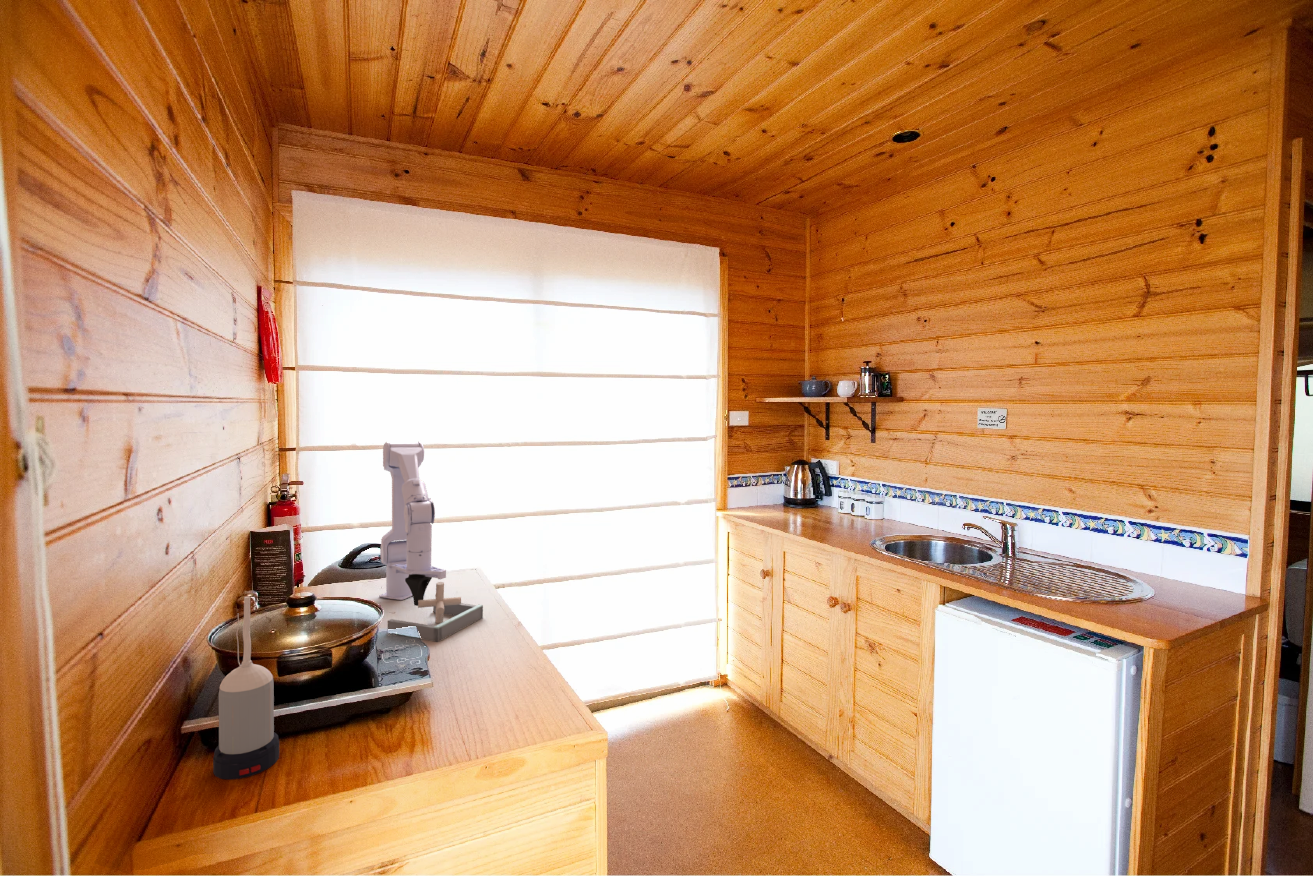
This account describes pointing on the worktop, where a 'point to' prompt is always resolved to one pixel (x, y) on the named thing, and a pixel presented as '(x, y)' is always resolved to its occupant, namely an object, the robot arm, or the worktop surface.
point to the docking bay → (463, 618)
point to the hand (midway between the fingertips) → (418, 604)
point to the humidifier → (246, 717)
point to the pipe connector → (439, 602)
